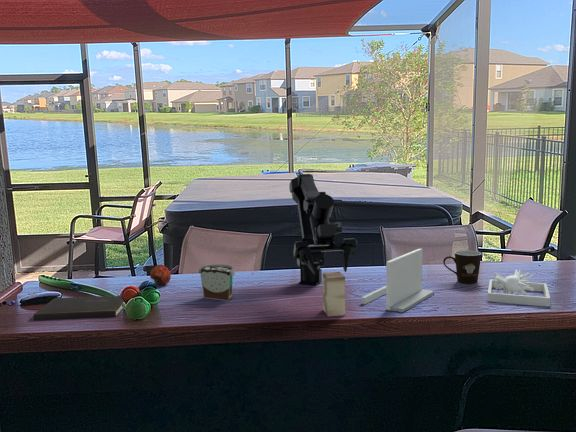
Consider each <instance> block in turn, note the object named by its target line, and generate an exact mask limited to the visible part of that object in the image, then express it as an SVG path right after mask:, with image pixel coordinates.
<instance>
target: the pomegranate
mask: <svg viewBox="0 0 576 432" xmlns="http://www.w3.org/2000/svg"><path fill="white" fill-rule="evenodd" d="M168 267H169V265H168V264H167V265H165V266H164V265H156V266H154V267H152V268H151V269H150V273H149V274H150V275H149V276H150V277H149V278H150V279H152V280H153V281H154V283H153V284H154V285H155V284H157V285H162V286H165V285H167V284H168V283H169V282H170V281H171V277H172V273H171V271H170V270H169V268H168Z"/></svg>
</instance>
